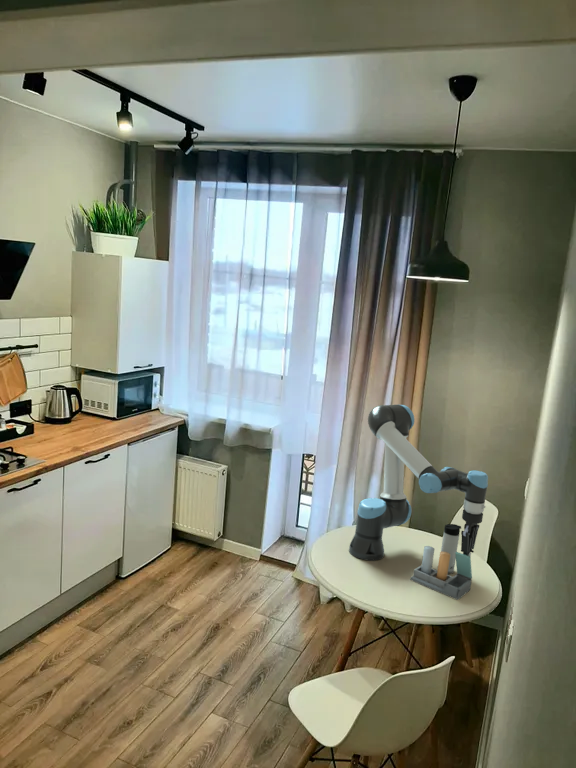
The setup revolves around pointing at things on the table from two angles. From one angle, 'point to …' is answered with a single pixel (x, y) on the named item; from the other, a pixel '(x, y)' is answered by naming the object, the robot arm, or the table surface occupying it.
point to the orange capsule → (443, 566)
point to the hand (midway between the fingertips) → (464, 567)
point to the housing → (443, 583)
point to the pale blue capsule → (427, 560)
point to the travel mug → (451, 543)
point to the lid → (463, 565)
